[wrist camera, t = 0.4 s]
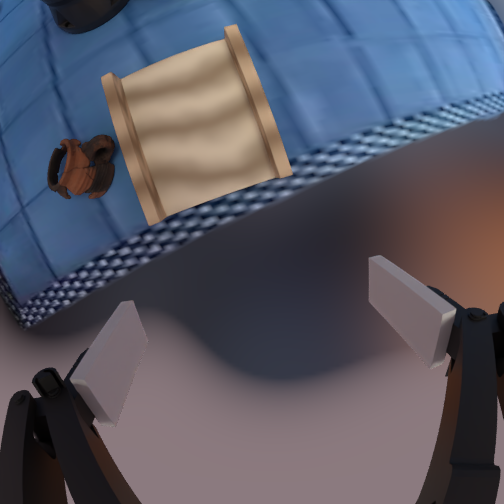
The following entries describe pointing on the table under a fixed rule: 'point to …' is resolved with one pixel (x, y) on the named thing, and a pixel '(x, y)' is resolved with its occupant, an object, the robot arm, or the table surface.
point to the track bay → (195, 127)
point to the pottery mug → (82, 167)
